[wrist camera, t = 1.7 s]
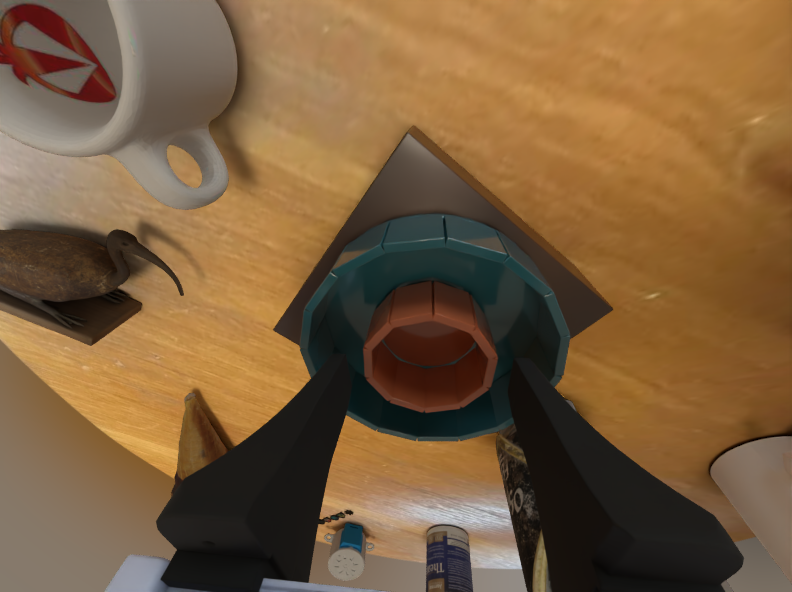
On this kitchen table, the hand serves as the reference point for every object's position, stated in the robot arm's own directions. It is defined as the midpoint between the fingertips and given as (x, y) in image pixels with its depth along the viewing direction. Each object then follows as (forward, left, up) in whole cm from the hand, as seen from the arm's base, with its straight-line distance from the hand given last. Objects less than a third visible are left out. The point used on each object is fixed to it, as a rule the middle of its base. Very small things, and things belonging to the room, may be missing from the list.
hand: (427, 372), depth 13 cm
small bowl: (0, 0, -3) cm, 3 cm away
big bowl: (0, 0, -4) cm, 4 cm away
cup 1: (+17, -1, -9) cm, 19 cm away
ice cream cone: (+9, +23, -8) cm, 26 cm away
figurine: (+19, +18, -7) cm, 27 cm away
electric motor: (-16, +35, -8) cm, 39 cm away
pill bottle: (-26, +28, -9) cm, 39 cm away
